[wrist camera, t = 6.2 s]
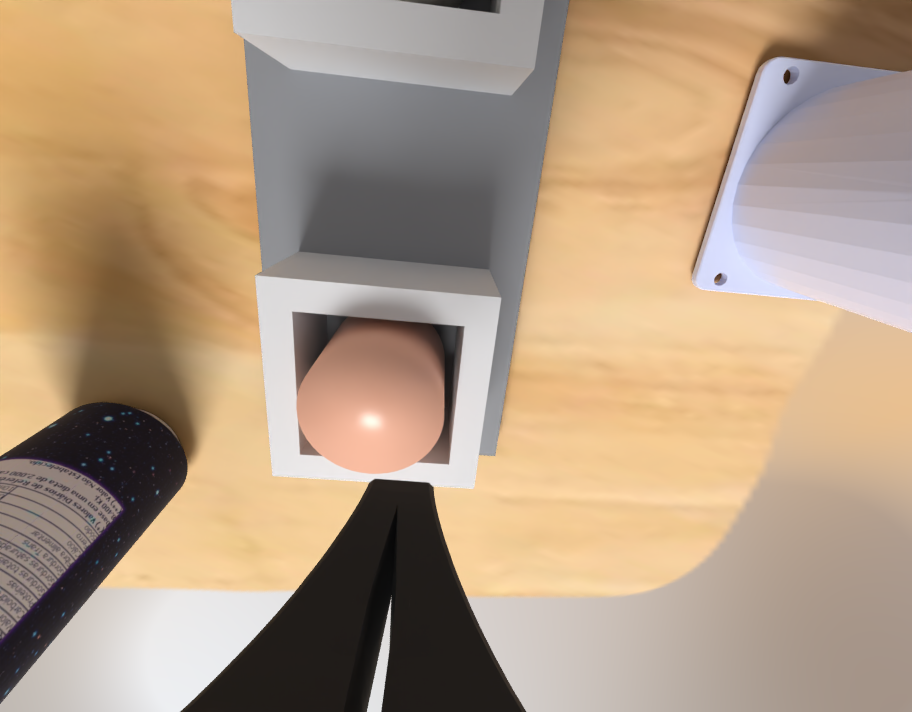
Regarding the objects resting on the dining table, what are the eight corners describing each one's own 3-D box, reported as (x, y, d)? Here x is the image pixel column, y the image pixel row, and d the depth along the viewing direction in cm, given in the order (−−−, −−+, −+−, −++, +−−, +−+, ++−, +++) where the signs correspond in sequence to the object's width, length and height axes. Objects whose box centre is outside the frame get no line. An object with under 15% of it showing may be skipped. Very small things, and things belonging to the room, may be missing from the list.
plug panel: (603, -253, 12) (702, -522, 7) (492, 443, 21) (506, 520, 16) (231, -316, 11) (82, -652, 7) (283, 428, 20) (236, 504, 16)
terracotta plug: (449, 309, 16) (451, 353, 12) (439, 411, 18) (438, 478, 14) (330, 298, 16) (292, 340, 12) (332, 403, 17) (299, 469, 14)
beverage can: (45, 412, 20) (-466, 720, 9) (154, 377, 19) (-246, 658, 8) (120, 503, 22) (-210, 842, 11) (220, 474, 21) (-24, 801, 10)
